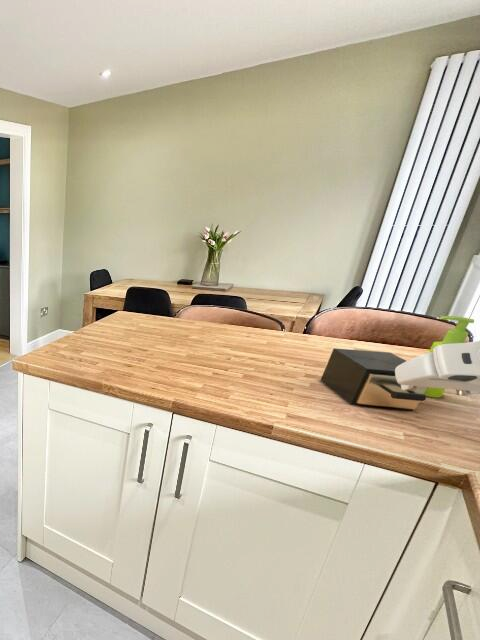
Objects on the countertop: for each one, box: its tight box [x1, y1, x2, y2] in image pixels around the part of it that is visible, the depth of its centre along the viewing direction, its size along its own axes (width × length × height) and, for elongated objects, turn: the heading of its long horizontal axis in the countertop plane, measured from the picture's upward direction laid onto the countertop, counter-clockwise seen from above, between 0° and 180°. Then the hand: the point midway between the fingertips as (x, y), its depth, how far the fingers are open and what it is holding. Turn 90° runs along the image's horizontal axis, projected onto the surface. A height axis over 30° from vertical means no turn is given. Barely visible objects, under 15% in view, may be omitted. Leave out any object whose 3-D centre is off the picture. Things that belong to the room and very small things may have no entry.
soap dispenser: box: [424, 315, 475, 398], centre depth 100 cm, size 6×7×20 cm
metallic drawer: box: [355, 372, 427, 410], centre depth 97 cm, size 18×11×8 cm, turn 165°
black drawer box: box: [320, 347, 415, 412], centre depth 101 cm, size 15×13×10 cm
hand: (432, 389), depth 84 cm, fingers open, 8 cm apart
